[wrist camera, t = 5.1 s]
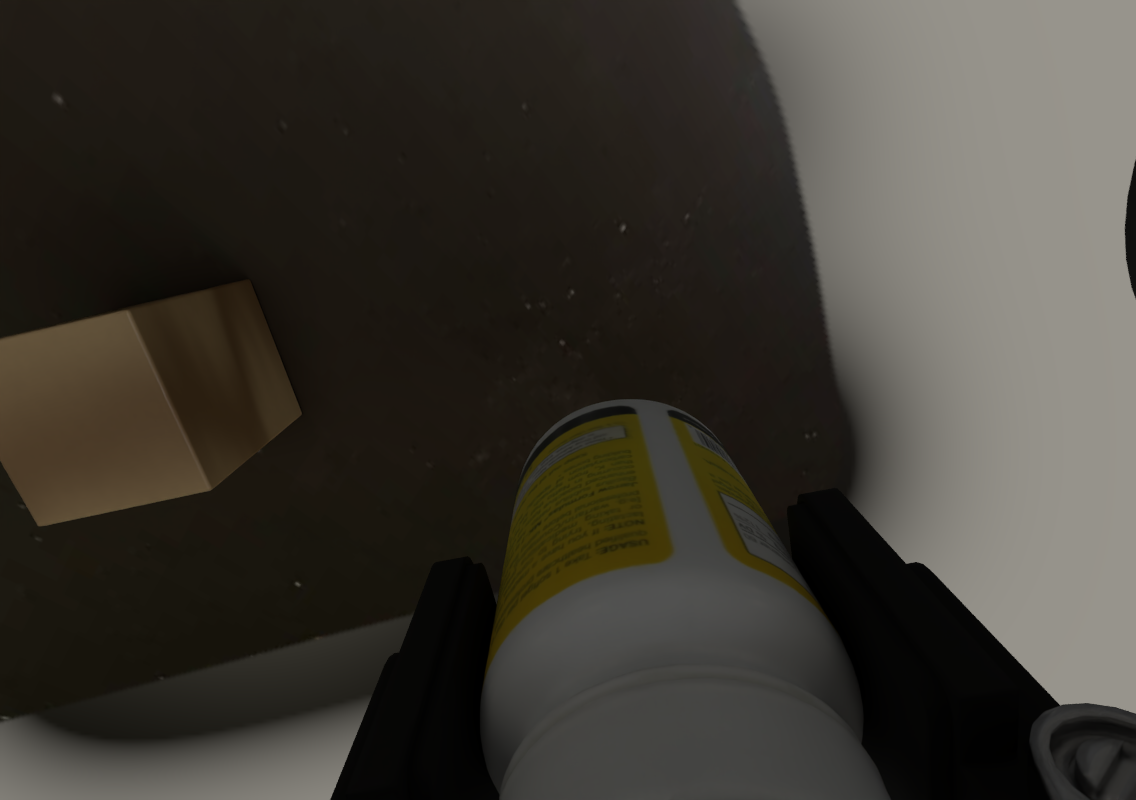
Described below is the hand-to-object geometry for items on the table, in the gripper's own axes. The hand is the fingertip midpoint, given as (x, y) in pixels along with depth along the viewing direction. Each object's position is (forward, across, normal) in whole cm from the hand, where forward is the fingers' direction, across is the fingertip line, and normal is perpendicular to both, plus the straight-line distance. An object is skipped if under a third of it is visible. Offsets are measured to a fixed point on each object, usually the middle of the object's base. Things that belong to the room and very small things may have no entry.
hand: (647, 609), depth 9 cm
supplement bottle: (+4, 0, 0) cm, 4 cm away
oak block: (+12, +14, -4) cm, 18 cm away
